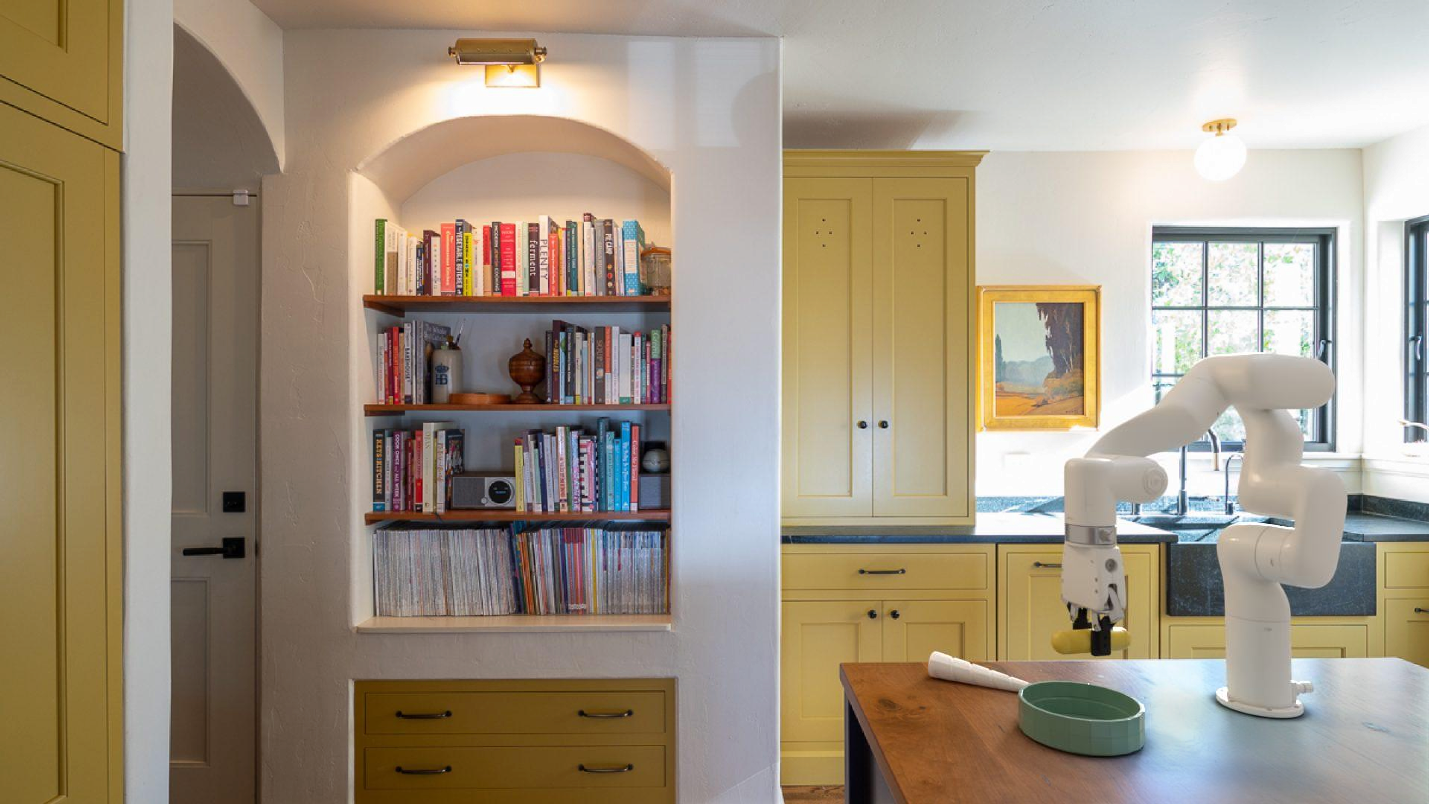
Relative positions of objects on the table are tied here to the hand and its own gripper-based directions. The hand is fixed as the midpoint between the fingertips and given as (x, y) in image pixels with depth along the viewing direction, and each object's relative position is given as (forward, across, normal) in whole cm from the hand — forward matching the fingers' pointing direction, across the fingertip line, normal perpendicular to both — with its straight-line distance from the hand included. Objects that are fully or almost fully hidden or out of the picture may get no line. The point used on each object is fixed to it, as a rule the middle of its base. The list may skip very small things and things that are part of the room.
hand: (1091, 650), depth 128 cm
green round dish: (+14, +1, +1) cm, 14 cm away
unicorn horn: (+14, +25, +3) cm, 29 cm away
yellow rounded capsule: (0, 0, 0) cm, 0 cm away
